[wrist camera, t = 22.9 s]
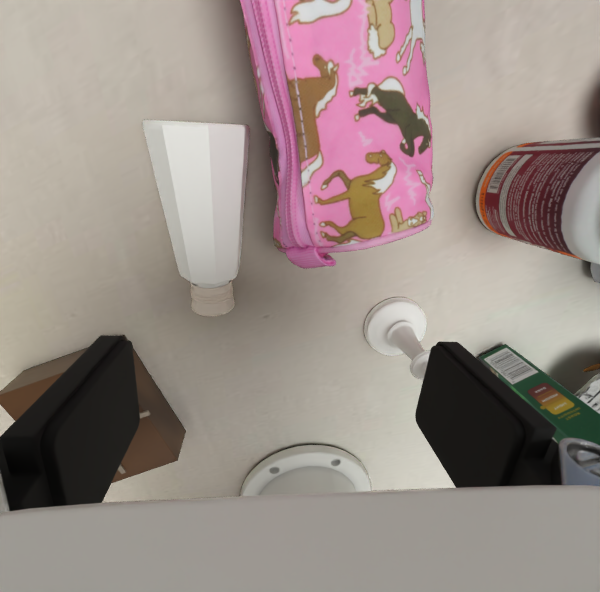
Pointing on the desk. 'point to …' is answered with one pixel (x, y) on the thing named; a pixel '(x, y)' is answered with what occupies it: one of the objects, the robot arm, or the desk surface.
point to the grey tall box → (595, 272)
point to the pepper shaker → (202, 203)
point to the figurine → (592, 367)
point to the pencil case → (343, 121)
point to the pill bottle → (546, 196)
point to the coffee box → (544, 395)
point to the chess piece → (399, 332)
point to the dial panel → (152, 406)
